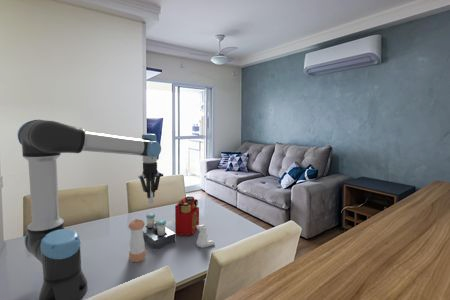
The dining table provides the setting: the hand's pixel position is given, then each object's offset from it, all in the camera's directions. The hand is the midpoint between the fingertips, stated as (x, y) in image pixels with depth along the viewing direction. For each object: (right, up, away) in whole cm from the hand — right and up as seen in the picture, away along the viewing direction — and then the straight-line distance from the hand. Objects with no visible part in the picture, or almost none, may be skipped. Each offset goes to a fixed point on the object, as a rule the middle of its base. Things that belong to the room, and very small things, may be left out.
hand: (150, 203), depth 136 cm
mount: (+4, -19, -2) cm, 20 cm away
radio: (+19, -18, +9) cm, 28 cm away
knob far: (0, -14, +2) cm, 14 cm away
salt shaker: (0, -22, -20) cm, 30 cm away
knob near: (+8, -15, -7) cm, 18 cm away
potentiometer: (+4, -14, -3) cm, 15 cm away
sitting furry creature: (+30, -21, -7) cm, 38 cm away
